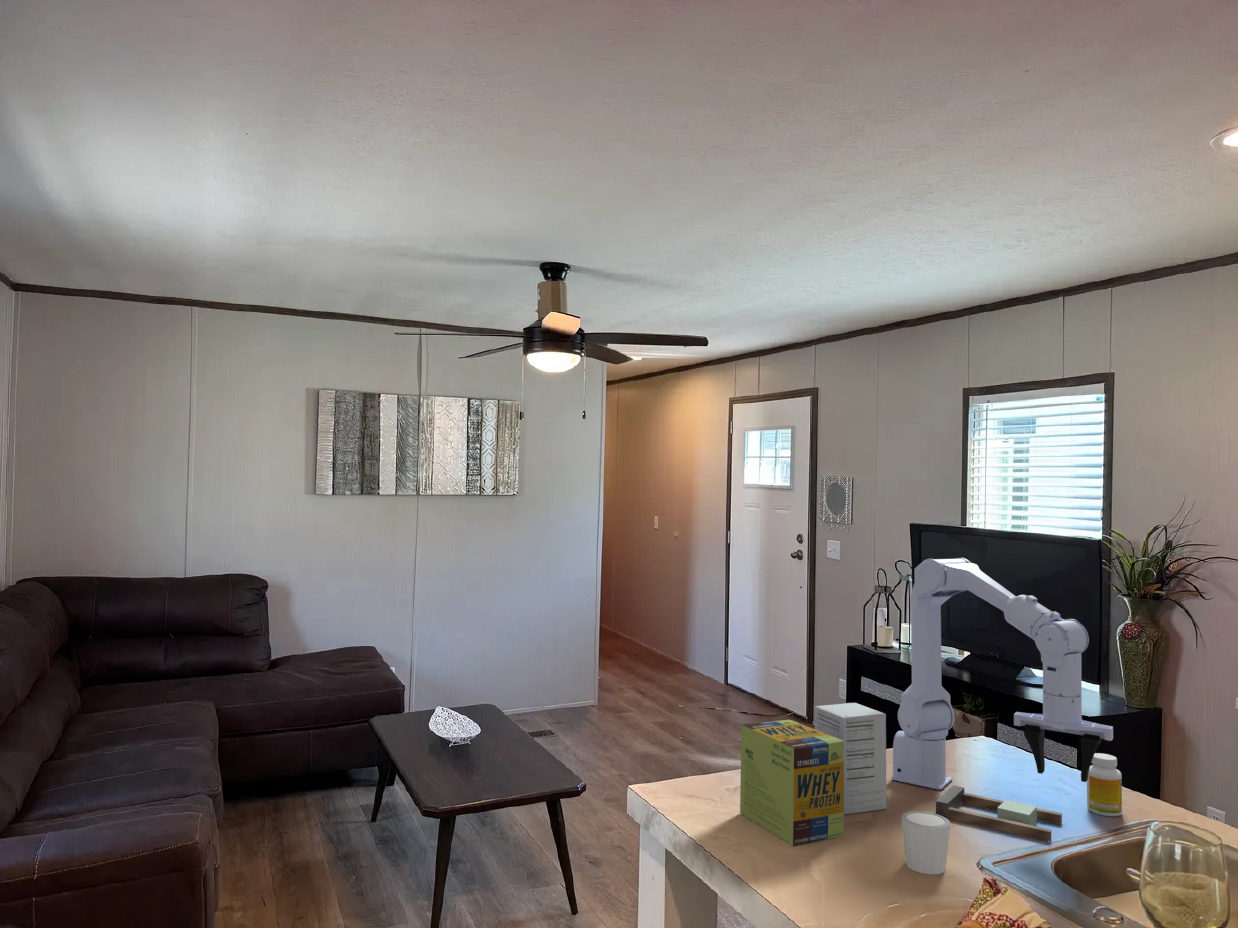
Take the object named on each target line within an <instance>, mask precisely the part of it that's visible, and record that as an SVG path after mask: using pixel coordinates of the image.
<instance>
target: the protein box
mask: <svg viewBox="0 0 1238 928" xmlns="http://www.w3.org/2000/svg"><path fill="white" fill-rule="evenodd" d="M740 727H741V728H740V791H739V792H740V795H739V796H740V797H739V799H740V800H739V801H740V803H739V813H740V815H742V816H744V817H746V818H747V819H749V820H751V821H752V822H754V823H755V824H756V825H758V826H760V827H761V828H763V829H765V830H766V831H767V832H769V833H771V834H773V835H774V836H775V837H777V838H779V839H780V840H782V841H784V842H785V843H787V845H790V846H792V847H794V846H799V845H804V844H809V843H816V842H820V841H824V840H825V841H826V840H829V839H837V838H841V837H844V836H845V832H844V830H845V829H844V825H845V821H844V815H845V814H844V741H843V740H841V739H838V738H835V737H833V736H830V735H827V734H825V733H823V732H820V731H818V730H815V728H813V727H810V726H807V725H805V724H803V723H799V722H797V721H794V720H791V719H784V720H783V719H782V720H773V721H772V720H771V721H763V722H752V723H744V724H741V726H740Z"/></svg>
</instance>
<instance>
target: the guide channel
mask: <svg viewBox="0 0 1238 928" xmlns="http://www.w3.org/2000/svg"><path fill="white" fill-rule="evenodd" d="M1004 801H1005V800H1001V799H996V798H993V797H987V796H981V795H977V794H974V793H973V794H972V793H968V792H965V787H963V786H957V785H954V784H952V786H951V787H949V788H948V789H947V790H946V791H945V792H944V793H943V794H941V796H939V797H938V798H937V800H935V814H937V815H940V816H943V817H945V818H946V819H948V820H954V821H956V822H957V821H958V822H962V823H966V824H970V825H975V826H979V827H980V826H981V827H983V828H988V829H992V830H997V831H1001V832H1006V833H1009V834H1014V835H1018V836H1023V837H1027V838H1031V839H1036V840H1040V841H1044V842H1048V841H1050V842H1051V841H1052V829H1050V828H1047V827H1041V826H1037V825H1035V826H1033V825H1028V824H1024V823H1019V822H1015V821H1010V820H1006V819H1001V818H997V817H996V816H993V815H991V816H990V815H987V814H984V813H978V812H975V811H970V810H965V809H960V808H959V807H961V806H962V805H963V804H964V805H968V806H974V807H977V808H980V809H981V808H982V809H987V810H992V811H995V812H997V808H998V807H999V806H1000V805H1001V804H1002V803H1003V802H1004ZM1037 821H1041V822H1047V823H1051V824H1054V825H1055V824H1056V825H1062V824H1063V813H1062V812H1058V811H1053V810H1047V809H1044V808H1038V807H1037Z"/></svg>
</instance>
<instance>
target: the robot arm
mask: <svg viewBox="0 0 1238 928" xmlns="http://www.w3.org/2000/svg"><path fill="white" fill-rule="evenodd" d="M965 591H968V592H970V593H972V594H974V595H975V596H977V597H978V598H981V599H983V601H986V602H988V603H989V604H990V605H992V606H994V607H995V608H997V609H999V610H1001V611H1002V612H1003V616H1004V619H1005V621H1006V622H1007V623H1008V624H1010V625H1011V626H1013V627H1014V628H1016V629H1017V630H1018V631H1020V632H1021V633H1023V634H1024V635H1026V636H1027V637H1029V638H1030V639H1032V640H1033V641H1034V643H1035V646H1036V648H1037V649H1038V651H1039V653H1040V660H1041V663H1042V713H1031V712H1030V713H1029V712H1028V713H1027V712H1021V711H1020V712H1019V711H1016V712H1015V713H1014V714H1013V726H1017V727H1022V726H1024V730H1023V734H1024V735H1023V736H1024V738H1025V739H1026V742H1027V744H1028V745H1029V748H1030V749H1031V752H1032V755H1033V758H1034V761H1035V765H1036V766H1035V767H1036V771H1037V774H1042V775H1043V773H1044V772H1045V767H1046V766H1045V765H1046V764H1045V761H1046V760H1045V732H1046V730H1047V731H1054V732H1059V733H1065V734H1066V733H1067V734H1074V735H1080V736H1083V737H1081V739H1080V752H1081V754H1080V755H1081V767H1080V768H1081V769H1080V781H1081V782H1084V783H1087V780H1088V774H1089V769H1090V766H1091V764H1092V759H1093V756H1094V754H1095V753H1096V751H1097V749H1098V747H1099V746H1100V744H1101V742H1102V740H1105V741H1108V742H1111V741H1113V739H1114V726H1112V725H1111V726H1110V725H1106V724H1100V723H1096V722H1092V721H1087V720H1084V719H1083V717H1082V713H1083V711H1082V709H1083V707H1082V700H1083V698H1082V694H1083V693H1082V691H1083V690H1082V685H1083V684H1082V653H1084V652H1086V650H1087V648H1088V647H1089V643H1090V637H1089V633H1088V631H1087V629H1086V627H1085V626H1084V625H1083V624H1081V623H1080V622H1079V620H1077V619H1074V618H1066V619H1063V618H1062V617H1061V614H1060V613H1059V612H1057V611H1052V610H1051V609H1048V608H1047V607H1045V606H1044V605H1042V604H1041V603H1039V602H1038V598H1037V597H1035V596H1034V595H1027V594H1020V595H1017V596H1016V595H1015V594H1013V593H1012V592H1011V591H1009V590H1008V589H1006V588H1005V587H1004V586H1003V585H1001V584H1000V583H999V582H997V581H995V580H994V579H993V578H991V577H990V576H989V575H987V574H986V573H985V572H983V571H982V570H981V569H980V567H979V565H978V564H977V563H974V562H973V563H972V562H971V561H970V560H969V559H967V558H965V557H957V558H956V557H955V558H936V559H934V558H927V559H925V560H923V561H921V563H919V564H918V565H917V566H916V567H915V568H914V584H913V586H912V589H911V593H910V618H911V620H910V621H911V623H910V626H911V629H910V631H911V632H910V633H911V638H910V639H911V684H910V685H909V686H908V687H907V688H906V689H905V691H904V692H903V693H902V694H901V695H900V697H901V698H900V699H901V702H900V706H899V708H898V709H897V710H898V711H897V720H898V721H897V722H898V724H899V726H900V728H901V729H902V730H898V731H897V732H896V733H895V735H894V737H893V744H892V777H891V780H892V781H898V782H902V783H906V784H911V785H915V786H920V787H924V788H929V789H934V790H939V791H941V790H942V789H944V788H945V787H946V786H947V785H948V784H950V782H951V781H953V777H952V776H949V775H947V774H946V773H947V772H946V770H947V769H946V766H947V763H946V759H947V758H946V757H947V755H946V753H947V752H946V750H947V749H946V747H947V745H946V743H947V742H946V737H947V736H948V735H949V730H951V728H952V727H953V726H954V724H955V712H954V709H953V706H952V704H951V695H950V693H949V692H948V691H947V690H946V689H945V688H944V687H943V686H942V615H941V614H942V613H941V612H942V611H941V610H942V607H941V606H942V605H943V604H944V603H945V602H946V601H948V600H949V599H950V598H952V597H953V596H955V595H957V594H960V593H962V592H965Z"/></svg>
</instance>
